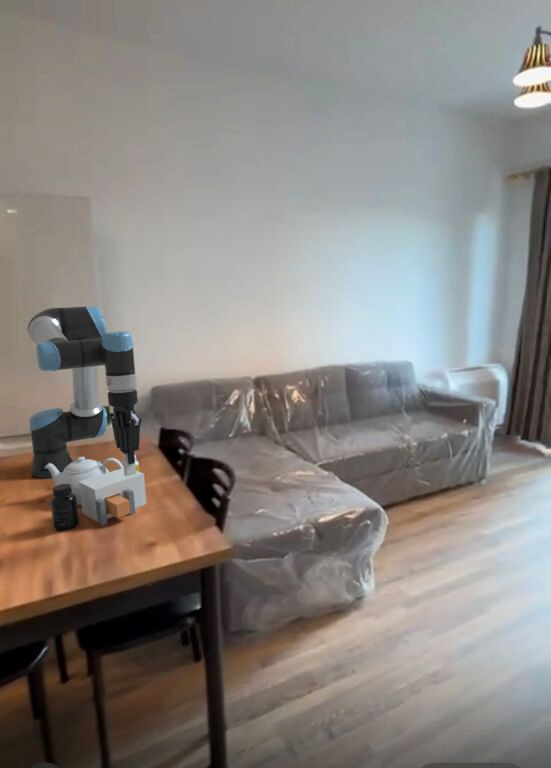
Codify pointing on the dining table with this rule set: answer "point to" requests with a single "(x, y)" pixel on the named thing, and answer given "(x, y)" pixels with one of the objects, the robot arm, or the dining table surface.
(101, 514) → the box
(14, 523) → the dining table surface
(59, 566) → the dining table surface
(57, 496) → the supplement bottle
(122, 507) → the block
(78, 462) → the teapot
